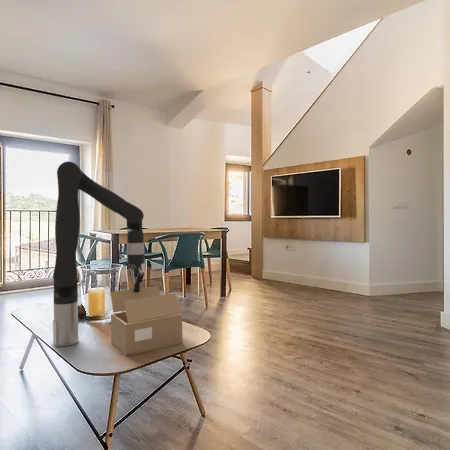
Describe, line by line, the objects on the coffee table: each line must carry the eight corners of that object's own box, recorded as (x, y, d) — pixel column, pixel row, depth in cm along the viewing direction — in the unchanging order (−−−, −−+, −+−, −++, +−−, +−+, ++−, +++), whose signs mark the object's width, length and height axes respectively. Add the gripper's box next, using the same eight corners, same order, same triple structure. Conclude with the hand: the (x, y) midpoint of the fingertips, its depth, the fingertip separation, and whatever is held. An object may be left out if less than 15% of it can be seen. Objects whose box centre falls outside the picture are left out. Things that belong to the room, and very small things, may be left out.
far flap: (161, 304, 162) (161, 304, 162) (158, 285, 164) (158, 286, 165) (113, 312, 149) (113, 312, 150) (110, 291, 152) (110, 292, 152)
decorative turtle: (67, 319, 184) (67, 303, 184) (95, 315, 194) (95, 300, 195) (74, 321, 177) (75, 305, 177) (103, 317, 187) (104, 302, 188)
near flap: (128, 323, 135) (128, 322, 135) (123, 300, 138) (124, 300, 138) (179, 313, 147) (180, 313, 147) (174, 293, 151) (175, 293, 150)
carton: (126, 356, 134) (125, 324, 134) (111, 342, 149) (110, 314, 149) (182, 343, 148) (182, 314, 148) (163, 331, 163) (163, 305, 163)
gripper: (122, 252, 160) (123, 290, 161) (132, 254, 149) (133, 295, 150) (138, 251, 165) (139, 288, 165) (149, 253, 154) (150, 293, 154)
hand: (136, 292), depth 157 cm, fingers closed
